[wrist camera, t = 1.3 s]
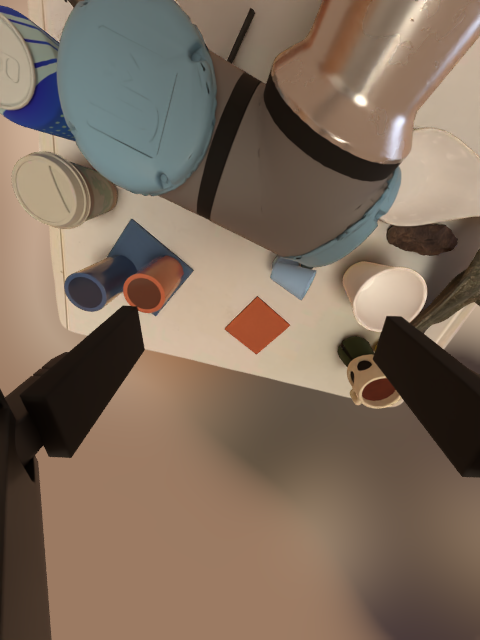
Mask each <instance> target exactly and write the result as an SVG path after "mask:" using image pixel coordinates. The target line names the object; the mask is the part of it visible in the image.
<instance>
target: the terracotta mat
mask: <svg viewBox="0 0 480 640" xmlns="http://www.w3.org/2000/svg"><path fill="white" fill-rule="evenodd" d="M289 326H290V325H289V324H288V323H287V322H286V321H285V320H284V319H283V318H281V317H280V316H279V315H278V314H277V313H276V312H275V311H273V310H272V309H271V308H270V307H269V306H268V305H267V304H265V303H264V302H263V301H262V300H261V299H260V298H259V297H256V298H255V299H254V300H253V301H252V302H251V303H250V304H249V305H248V306H247V307H246V308H245V309H244V310H243V311H242V312H241V313H240V314H239V315H238V316H237V317H236V318H235V319H234V320H233V321H232V322H231V323H230V324H229V325H228V326H227V327H226V328H225V330H226V331H227V332H229V333H230V334H231V335H232V336H234V337H235V338H236V339H238V340H239V341H240V342H241V343H243V344H244V345H245V346H246V347H248V348H249V349H250V350H252V351H253V352H254V353H255V354H258V353H259V352H260V351H261V350H262V349H263V348H265V347H266V346H267V345H268V344H269V343H270V342H272V341H273V340H274V339H275V338H276V337H277V336H279V335H280V334H281V333H282V332H283V331H284V330H286V329H287V328H288V327H289Z"/></svg>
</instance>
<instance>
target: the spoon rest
mask: <svg viewBox="0 0 480 640" xmlns="http://www.w3.org/2000/svg"><path fill="white" fill-rule="evenodd" d="M399 167H400V169H401V185H400V188H399V191H398V194H397V196H396V199H395V201H394V203H393V204H392V206H391V208H390V209H389V211H388V213H387V214H385V215H383V216H382V217H380V218H379V219H380V220H382V221H384V222H385V223H388V224H391V225H396V226H418V225H425V224H431V223H437V222H443V221H449V220H455V219H461V218H468V217H478V216H480V157H479V156H478V155H477V154H476V153H475V152H474V151H473V150H472V149H470V148H469V147H468V146H467V145H466V144H465V143H463V142H462V141H461V140H460V139H458V138H457V137H455V136H454V135H452V134H451V133H449V132H446V131H444V130H441V129H437V128H419V129H415V130H413V139H412V149H411V152H410V153H409V155H408V156H407V157H406V158H405V159H404V160H403V161H402V163H401V164H400V165H399Z"/></svg>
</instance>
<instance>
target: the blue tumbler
mask: <svg viewBox="0 0 480 640" xmlns="http://www.w3.org/2000/svg"><path fill="white" fill-rule="evenodd" d="M136 272H137V270H136V267H135V265H134V264H133V262H132V261H131V260H129V259H128V258H127V257H125V256H122V255H112V256H110V257H108V258H106V259H104V260H101V261H99V262H97V263H95V264H93V265H91V266H88V267H86V268H84V269H82V270H80V271H78V272H75V273H73V274H71V275H70V276H68V277H67V279H66V281H65V285H64V289H65V293H66V295H67V297H68V299H69V300H70V301H71V302H72V303H73V304H74V305H75V306H76V307H78V308H80V309H82V310H85V311H90V312H93V311H98V310H100V309H102V308H103V307H104V306H106V305H107V304H108V303H109V302H111V301H112V300H113V299H115V298H116V297H117V296H118V295H120V294H121V293H122V292H123V287H124V283H125V281H126V280H127V279H128V278H129V277H130V276H131V275H133V274H134V273H136Z"/></svg>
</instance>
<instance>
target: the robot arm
mask: <svg viewBox="0 0 480 640" xmlns="http://www.w3.org/2000/svg"><path fill="white" fill-rule="evenodd" d="M254 15H255V11H254V10H253V9H252V8H250V10H249V13H248V15H247V17H246V19H245V22H244V24H243V26H242V28H241V30H240V33H239V35H238V37H237V39H236V42H235V44H234V46H233V48H232V51H231V53H230V55H229V57H228V60H227V61H226V60H225V59H223V58H222V57H220V56H218V55H217V54H215V53H213V52H212V51H210V50H208V48H207V46H206V44H205V42H204V39H203V37H202V34H201V33H200V31H199V29H198V27H197V26H196V25H194V24H192V22H191V20H190V18H189V16H188V15H186V13H185V12H184V11H183V10H182V9H181V8H180V6H179V5H178V4H177V3H176V2H175V1H174V0H84V1H79V2H78V3H77V5H76V6H75V7H74V9H73V10H72V12H71V13H70V15H69V17H68V19H67V21H66V24H65V26H64V29H63V32H62V35H61V39H60V43H59V49H58V56H57V85H58V93H59V99H60V103H61V108H62V111H63V115H64V118H65V121H66V123H67V125H68V127H69V128H70V130H71V133H72V134H73V135H74V137H75V139H76V144H77V146H78V148H79V149H80V151H81V152H82V154H83V155H84V157H85V158H86V159H87V160H88V162H89V163H90V164H91V165H92V166H93V167H94V168H95V169H96V170H97V171H98V172H99V173H100V174H101V175H102V176H104V177H105V178H106V179H107V180H109V181H111V182H112V183H114V184H116V185H117V186H119V187H122V188H124V189H126V190H128V191H130V192H132V193H135V194H142V195H144V196H147V195H151V196H157V195H158V196H160V197H162V198H165V199H167V200H169V201H171V202H173V203H175V204H177V205H179V206H181V207H183V208H185V209H187V210H189V211H192V212H194V213H196V214H198V215H200V216H202V217H204V218H206V219H209V220H210V221H211V222H213V223H215V224H217V225H219V226H221V227H223V228H225V229H227V230H229V231H232V232H234V233H236V234H238V235H240V236H242V237H244V238H246V239H248V240H250V241H252V242H254V243H256V244H258V245H260V246H262V247H264V248H266V249H268V250H270V251H272V252H274V253H276V254H277V255H278V256H279V257H281V258H282V257H283V258H284V259H288V260H293V261H295V262H298V263H300V264H303V265H305V266H308V267H322V266H326V265H329V264H332V263H334V262H336V261H338V260H340V259H341V258H343V257H345V256H346V255H348V254H349V253H350V252H352V251H353V250H354V249H356V248H357V247H358V246H359V245H360V244H361V243H362V242H363V241H364V240H365V239H366V238H367V237H368V236H369V235H370V234H371V233H372V232H373V231H374V230H375V228H376V227H377V226H378V225H377V221H378V219H379V218H380V217H382V216H383V215H385V214H387V213H388V211H389V209H390V208H391V206H392V204H393V203H394V201H395V199H396V196H397V194H398V191H399V188H400V185H401V169H400V167H399V165H400V164H401V163H402V161H403V160H404V159H405V158H406V157H407V156H408V155H409V153H410V152H411V149H412V139H413V126H414V120H415V117H416V114H417V111H418V110H419V109H420V107H421V106H422V105H423V104H424V103H425V101H426V100H427V99H428V98H429V97H430V95H431V94H432V93H433V92H434V91H435V89H436V88H437V87H438V86H439V85H440V83H441V82H442V81H443V80H444V79H445V77H446V76H447V75H448V74H449V73H450V71H451V70H452V69H453V68H454V66H455V65H456V64H457V63H458V62H459V60H460V59H461V58H462V57H463V56H464V54H465V53H466V52H467V51H468V50H469V48H470V47H471V46H472V45H473V44H474V42H475V41H476V40H477V39H478V38H479V36H480V0H323V1H322V3H321V6H320V8H319V11H318V13H317V16H316V18H315V21H314V23H313V26H312V28H311V31H310V32H309V34H308V35H307V37H306V38H305V39H304V40H302V41H301V42H299V43H297V44H295V45H294V46H292V47H290V48H288V49H287V50H285V51H283V52H282V53H280V54H278V56H277V57H276V58H275V60H274V63H273V65H272V69H271V72H270V75H269V78H268V81H267V84H264V83H262V82H261V81H259V80H258V79H256V78H254V77H253V76H251V75H249V74H248V73H246V72H245V71H243V70H241V69H240V68H238V67H236V66H235V65H233V64H232V63H233V61H234V58H235V56H236V54H237V52H238V50H239V47H240V45H241V43H242V41H243V39H244V36H245V34H246V32H247V30H248V28H249V25H250V23H251V21H252V19H253V17H254ZM144 350H145V349H144V344H143V338H142V332H141V326H140V320H139V314H138V308H137V306H122V307H121V308H120V309H118V310H117V311H116V312H115V313H114V314H113V315H112V316H110V317H109V318H108V319H107V320H106V321H105V322H103V323H102V324H101V325H100V326H99V327H98V328H96V329H95V330H94V331H93V332H92V333H91V334H89V335H88V336H87V337H86V338H85V339H84V340H83V341H81V342H80V343H79V344H78V345H77V346H76V347H74V348H73V349H72V350H71V351H70V352H65V353H63V354H61V355H59V356H57V357H55V358H53V359H51V360H50V361H49V362H48V363H47V364H45V365H44V366H43V367H42V369H39V370H38V371H37V372H36V373H35V374H33V376H31V377H30V378H28V379H27V380H26V381H25V382H23V383H22V384H21V385H20V386H18V387H17V388H16V389H15V390H14V391H13V392H11V393H10V394H9V395H8V396H6V397H4V395H3V393H2V391H1V390H0V640H51V628H50V615H49V601H48V588H47V576H46V575H47V574H46V562H45V548H44V534H43V522H42V507H41V494H40V482H39V468H38V461H37V459H36V457H35V454H36V453H37V452H38V451H39V449H40V448H41V447H42V446H43V445H44V447H45V449H46V451H47V454H48V456H49V457H66V458H71V457H72V456H73V454H74V453H75V451H76V450H77V449H78V447H79V446H80V444H81V443H82V441H83V440H84V438H85V437H86V435H87V434H88V432H89V431H90V429H91V428H92V427H93V425H94V424H95V422H96V421H97V419H98V418H99V416H100V415H101V413H102V412H103V410H104V409H105V407H106V406H107V404H108V403H109V402H110V400H111V398H112V397H113V396H114V394H115V393H116V391H117V390H118V388H119V387H120V385H121V384H122V382H123V381H124V380H125V378H126V377H127V375H128V373H129V372H130V371H131V369H132V368H133V366H134V364H135V363H136V362H137V360H138V359H139V357H140V356H141V355H142V353H143V352H144ZM373 361H374V362H375V363H376V365H377V366H378V367H379V369H380V370H381V371H382V372H383V374H384V375H385V376H386V378H387V379H388V380H389V382H390V383H391V384H392V386H393V387H394V388H395V389H396V391H397V392H398V393H399V395H400V396H401V397H402V399H403V400H404V401H405V402H406V404H407V405H408V406H409V408H410V409H411V410H412V412H413V413H414V414H415V416H416V417H417V418H418V420H419V421H420V422H421V423H422V425H423V426H424V427H425V429H426V430H427V431H428V433H429V434H430V435H431V437H432V438H433V439H434V441H435V442H436V443H437V445H438V446H439V447H440V448H441V450H442V451H443V452H444V454H445V455H446V456H447V458H448V459H449V460H450V462H451V463H452V464H453V465H454V467H455V468H456V469H457V471H458V472H459V473H460V474H461V476H462V477H480V375H479V374H477V373H475V372H474V371H472V370H470V369H468V368H467V367H465V366H464V365H463V364H462V363H460V362H459V361H458V360H456V359H455V358H454V357H453V356H451V355H450V354H448V353H447V352H446V351H445V350H444V349H442V348H441V347H440V346H439V345H437V344H436V343H435V342H433V341H432V340H431V339H430V338H428V337H427V336H426V335H424V334H423V333H422V332H421V331H419V330H418V329H417V328H416V327H414V326H413V325H412V324H410V323H409V322H408V321H407V320H405V319H404V318H403V317H401V316H386V319H385V322H384V325H383V329H382V332H381V335H380V338H379V341H378V344H377V347H376V350H375V353H374V356H373Z"/></svg>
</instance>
